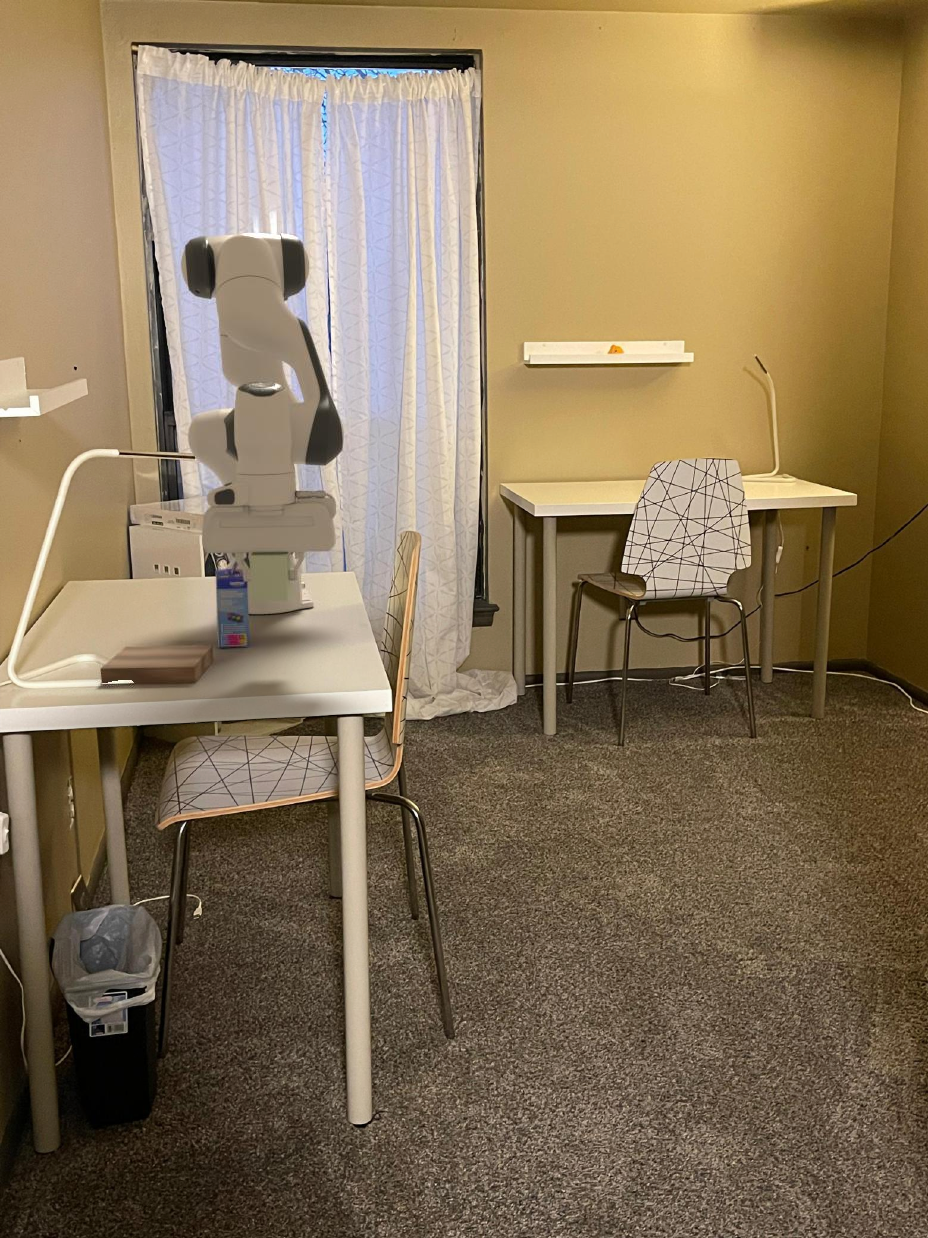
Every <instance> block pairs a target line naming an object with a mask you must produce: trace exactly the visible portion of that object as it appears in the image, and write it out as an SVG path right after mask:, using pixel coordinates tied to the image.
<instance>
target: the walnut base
mask: <svg viewBox="0 0 928 1238" xmlns="http://www.w3.org/2000/svg"><path fill="white" fill-rule="evenodd" d="M213 648H214V647H213V644H212V645H211V644H209V645H208V644H207V645H206V644H204V645H202V644H201V645H156V646H154V645H152V646H150V645H149V646H146V645H145V646H125V647H124V648H123V649H122V650H120V652H119V651H118V653H117V654H116V655H114V656H113V657H112V658H111V659H110V660H108V661H107V662H106V663H105V664H104V665H103V666H102V667H101V668H99V669H100V679H101V681H100V682H101V684H102V683H108V682H112V681H118V680H132V681H133V682H134V684H133V685H145V684H147V685H150V684H151V685H152V684H153V685H154V684H156V685H157V684H159V685H160V684H161V685H162V684H195V683H196V682H197V681H198V680H199V679H200V678H201V676H202V675H203V674H204V672H205V671H206V670H208V668H209V666H210V665H211V664H212V663H213V662H214V649H213Z"/></svg>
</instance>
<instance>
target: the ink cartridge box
mask: <svg viewBox="0 0 928 1238" xmlns="http://www.w3.org/2000/svg"><path fill="white" fill-rule="evenodd" d="M237 566H238V564H237V562H236V561H235V563H234V565H233V568H232V569H225V568H223V569H216V570H215V573H214V574H215V595H216V596H215V597H216V599H215V600H216V630H217V631H216V632H217V635H216V636H217V646H218V648H222V649H223V648H224V649H225V648H226V649H227V648H248V647H250V618H249V617H250V616H249V615H250V614H249V611H248V584H247V582H244V578H243V571H242V570H241V569H236V568H237Z"/></svg>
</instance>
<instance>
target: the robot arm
mask: <svg viewBox="0 0 928 1238" xmlns="http://www.w3.org/2000/svg"><path fill="white" fill-rule="evenodd" d="M180 268H181V274H182V278H183V280H184V282H185V285H186V286H187V287H188V290H189V292H190V293H191V294H192V295H194V296H195V297H198V298H203V299H207V300H212V299H213V298H215V305H216V311H217V317H218V333H219V345H220V358H221V371H222V373H223V376H224V378H225V380H226V381H228V383H230V384H231V385H233V386H234V387H236V388H237V389H236V392H235V400H234V408H233V407H232V408H230V407H229V408H224V407H223V408H217V409H211V410H208V411H204V412H200V413H197V414H196V415H195V417H194V418H193V419H192V421H191V423H190V424H189V427H188V432H187V441H188V446H189V449H190V451H191V452H192V454H193V456H194V457H195V456H196V457H195V458H196V459H197V461H199V462H200V463H201V464H203V465H204V466H206V467H207V468H208V469H210V470H211V472H213V473H214V475H215V476H216V477H217V478H218V480H219V481H220V483H221V484H222V486H219V487H216V488H213V489H212V490H211V491H209V492H208V493H207V495H206V502H207V504H208V506H209V508H207V509H206V511H205V512H204V514H203V518H202V526H201V527H202V529H201V530H202V531H201V545H202V548H203V550H204V551H205V552H206V553H208V554H231V556H232V559H231V561H230V563H228V564H227V565H226V566H225V568H224V569H232V568H233V565H234V563H235V561H236V562H237V564H238V566H237V568H236V569H241V570H242V571H243V578H244V582H247V584H248V611H249V615H264V614H265V615H268V614H270V615H271V614H280V613H286V612H287V613H288V612H292V611H296V610H302V609H308V608H314V601H313V599H312V596H311V594H310V592H309V590H308V589H306V584H305V582H304V581H302V565H303V562H304V560H305V559H306V553H308V552H309V553H310V552H315V553H316V552H330V551H331V550H333V548H334V547H335V545H336V542H337V540H336V539H337V538H336V537H337V536H336V530H335V523H334V518H335V516H336V514H337V503H336V499H335V498H334V496H333V495H332V494H329V493H328V492H326V491H325V490H314V491H313V490H297V482H296V481H297V480H296V479H297V478H296V468H295V465H306V466H307V465H308V466H322V467H323V466H325V467H326V466H327V465H329V464H330V463H331V462H332V461H334V459H336V458H337V457H338V456H339V455H340V454H341V452H342V451H343V448H344V447H343V446H344V441H345V439H344V438H345V435H344V434H345V433H344V427H343V422H342V420H341V417H340V415H339V413H338V409H337V407H336V405H335V403H334V399H333V397H332V395H331V392H330V388H329V385H328V383H327V382H328V381H327V379H326V376H325V373H324V370H323V366H322V364H321V360H320V357H319V354H318V351H317V348H316V346H315V342H314V340H313V337H312V333H311V331H310V330H309V327H308V326H307V323H306V322H305V321H304V320H303V319H301V318H299V317H298V316H296V315H294V313H293V312H292V311H291V310H290V309H289V307H288V305H287V303H286V301H288V299H289V298H290V297H292V296H295V295H297V294H299V293H301V291H302V290H303V289H304V288H305V287H306V284H307V283H306V282H307V280H308V277H309V274H310V260H309V255H308V252H307V250H306V249H305V247H304V243H303V241H301V239H300V238H299V237H297V236H295V235H290V234H287V233H280V234H279V235H278V234H272V233H271V234H270V233H262V232H261V233H260V232H259V233H258V232H243V233H238V234H236V233H235V234H224V235H215V236H210V237H209V236H208V237H207V235H202V236H201V235H200V236H198V237H194V238H191V239H189V241H188V242H186V244H185V245H184V250H183V252H182V255H181V262H180ZM283 363H285V364H287V365H288V366H290V367H291V369H292V370H293V371H294V373H295V376H296V378H297V381H298V386H299V388H300V391H301V394H302V398H303V401H300V400H299V399H298V398H297V396H296V395H295V392H293V390H292V389H291V387H290V385H289V383H288V380H287V378H286V375H285V370H284V365H283ZM326 496H327V497H326ZM260 552H291V568H289V570H288V574H289V581H292V592H293V594H292V595H291V597H290V598H289V600H288V601H252V593H251V576H250V558H249V556H250V555H251V554H252V553H260ZM296 560H297V561H296Z"/></svg>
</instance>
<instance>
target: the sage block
mask: <svg viewBox="0 0 928 1238" xmlns="http://www.w3.org/2000/svg"><path fill="white" fill-rule="evenodd" d="M249 558H250V576H251V593H252V601H288V600H289V598H290V597H291V595H292V594H293V592H292V581H289V574H288V570H289V568H291V552H260V553H252V554H251V555H250V556H249Z"/></svg>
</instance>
